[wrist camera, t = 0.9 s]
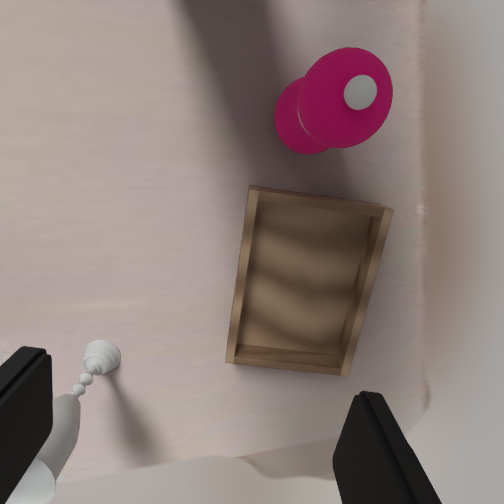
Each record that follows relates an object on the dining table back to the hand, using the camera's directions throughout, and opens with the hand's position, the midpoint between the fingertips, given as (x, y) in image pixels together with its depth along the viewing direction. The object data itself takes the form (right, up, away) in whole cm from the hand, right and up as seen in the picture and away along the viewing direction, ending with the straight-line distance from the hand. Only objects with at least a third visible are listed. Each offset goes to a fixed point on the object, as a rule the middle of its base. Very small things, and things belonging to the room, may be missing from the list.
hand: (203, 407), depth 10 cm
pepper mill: (+7, +20, +27) cm, 34 cm away
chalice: (-19, -10, +36) cm, 42 cm away
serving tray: (+8, +1, +32) cm, 33 cm away
